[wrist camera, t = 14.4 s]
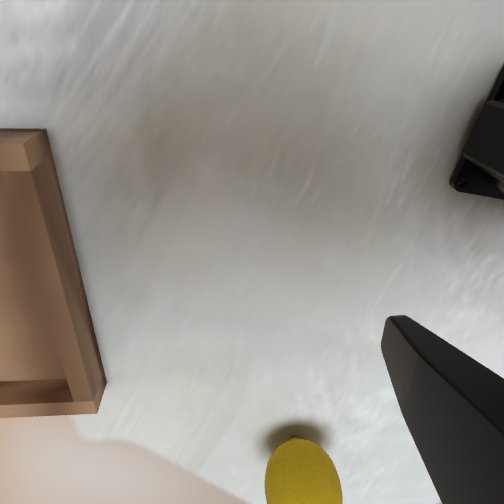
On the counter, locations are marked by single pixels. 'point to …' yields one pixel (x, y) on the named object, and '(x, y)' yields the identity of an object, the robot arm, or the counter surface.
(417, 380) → the robot arm
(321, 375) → the counter surface
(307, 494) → the lemon
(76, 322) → the tray
